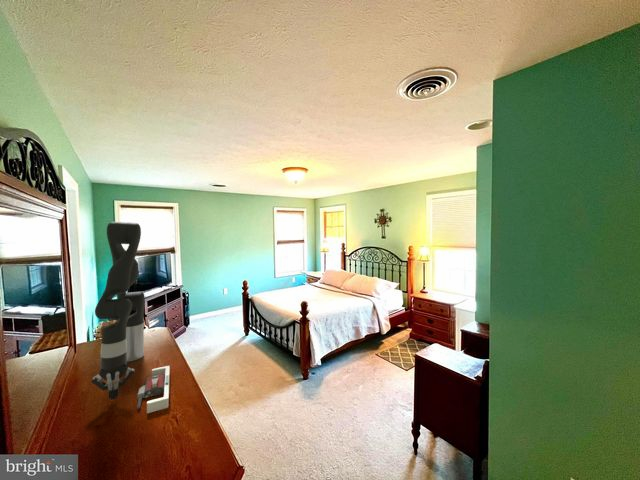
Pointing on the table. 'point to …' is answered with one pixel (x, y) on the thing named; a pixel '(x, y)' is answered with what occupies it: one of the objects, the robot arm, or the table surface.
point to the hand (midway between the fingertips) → (113, 398)
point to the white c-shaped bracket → (164, 401)
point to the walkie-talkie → (151, 387)
